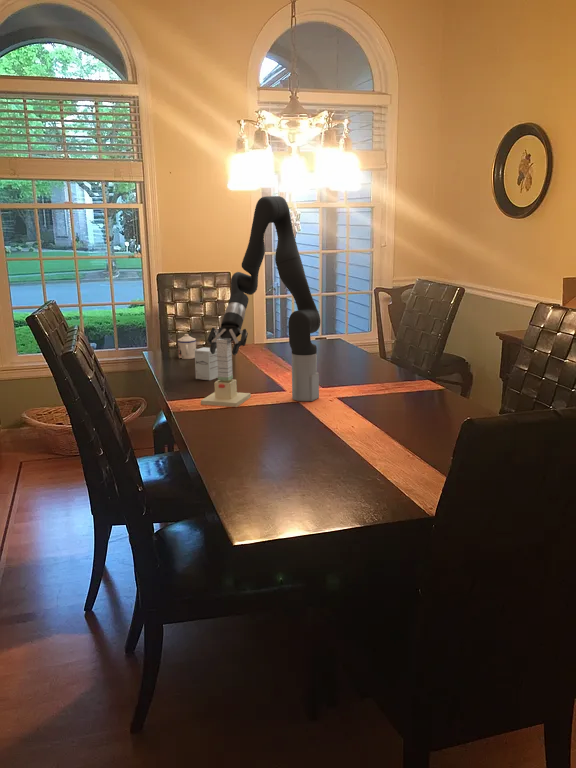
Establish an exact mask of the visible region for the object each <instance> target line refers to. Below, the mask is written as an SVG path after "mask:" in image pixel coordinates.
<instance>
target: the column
mask: <svg viewBox="0 0 576 768" xmlns="http://www.w3.org/2000/svg"><path fill="white" fill-rule="evenodd" d="M216 346H217V347H216V349H217V362H218V378H217V381H218V380H225V381H229V380H231V379H234V375H233V356H232V355H233V354H232V350H233V348H232V341H231V338H221V337H220V338H219V339H217V345H216Z"/></svg>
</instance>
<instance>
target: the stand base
mask: <svg viewBox="0 0 576 768" xmlns="http://www.w3.org/2000/svg"><path fill="white" fill-rule="evenodd" d="M213 384H214V392H212V393H211V394H209V395H208V396H206V397H204V398H203V399H200V405H206V406H219V407H231V408H238V407H239V406H240V405H242V404H243V403H244V402H246V401H247V400H249V399H250V398H251V396H252V393H250V392H238V386H237V379H234V378H232V379H231V380H229V381H225V380H218V379H217V380H216V381H215V382H214V383H213Z"/></svg>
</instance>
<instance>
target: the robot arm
mask: <svg viewBox="0 0 576 768" xmlns="http://www.w3.org/2000/svg"><path fill="white" fill-rule="evenodd" d="M271 223H273V225H274V227H275V231H276V236H277V241H276V243H277V244H276V248H275V255H274V256H275V257H274V259H275V265H276V269H277V271H278V272H277V273H278V276H279V278H280V280H281V282H282V283H283V285H284V286H285V288H286V289H287V290H288V292H290V294H291V295H292V298H293V299H294V302H295V305H296V308H297V310H295V311H293V312H292V313H291V314H290V315H289V317H288V321H287V322H288V323H287V324H288V325H287V327H288V328H287V329H288V343H289V347H290V350H291V394H292V395H291V396H292V397H291V398H292V400H294V401H296V402H297V401H298V402H313V401H315V400H317V399H319V398H320V373H319V372H318V371H317V370H318V366H317V365H318V364H317V363H318V362H317V361H318V360H317V357H318V356H317V354H318V352H317V351H318V349H317V345H316V344H315V343H312V340H311V339H312V338H311V334H314V333H316V332H317V331H318V330H320V327H321V316H320V314H319V310H318V309H317V306H316V303H315V300H314V298H313V295H312V292H311V290H310V285H309V283H308V280H307V275H306V273H305V269H304V265H303V261H302V258H301V255H300V252H299V248H298V245H297V241H296V237H295V234H294V228H293V223H292V219H291V213H290V208H289V205H288V202H287V200H286V199H285V198H284V197H282V196H277V195H274V196H273V195H272V196H270V195H269V196H262V197H260V198H259V199H258V200H257V202H256V205H255V209H254V212H253V219H252V224H251V229H250V234H249V241H248V244H247V247H246V250H245V253H244V256H243V259H242V262H241V268H242V269H243V270H244V271H245V272H247V273H248V274H246V273H244V272H241V271H236V272H234V273H233V275H231V278H230V296H229V300H228V303H227V306H226V308H225V311H224V314H223V317H222V320H221V323H220V327H219V329H218V328H217V329H216V328H215V327H212V328H211V329H210V332H209V335H208V337H207V342H208V344H209V345H210V347H209V348H210V351H211V353H212V354H214V353H215V350H216V349H217V339H219V338H231V342H233V341H234V344H233V347H232V355H233V356H236V355H237V354H238V352H239V349H240V347H244V346H246V344H247V338H248V331H247V329H246V328H243V329H242V327H243V323H244V320H245V317H246V312H247V307H248V304H249V296H251V295H254V294H255V293H256V292H257V290H258V283H259V272H260V269H261V266H262V263H263V260H264V258H265V255H266V254H265V253H266V245H265V233H266V230H267V228H268V226H269V224H271ZM240 335H241V337H240V340H238V337H239V336H240Z"/></svg>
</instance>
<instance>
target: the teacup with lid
mask: <svg viewBox="0 0 576 768" xmlns="http://www.w3.org/2000/svg"><path fill="white" fill-rule="evenodd" d="M177 347H178V349H177V350H178V359H180V358H182V359H181V360H192V359H195V350H197V339H196V338H195V337H192V336H191V335H189V333H184V336H182V337H180V338H178V339H177Z"/></svg>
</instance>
